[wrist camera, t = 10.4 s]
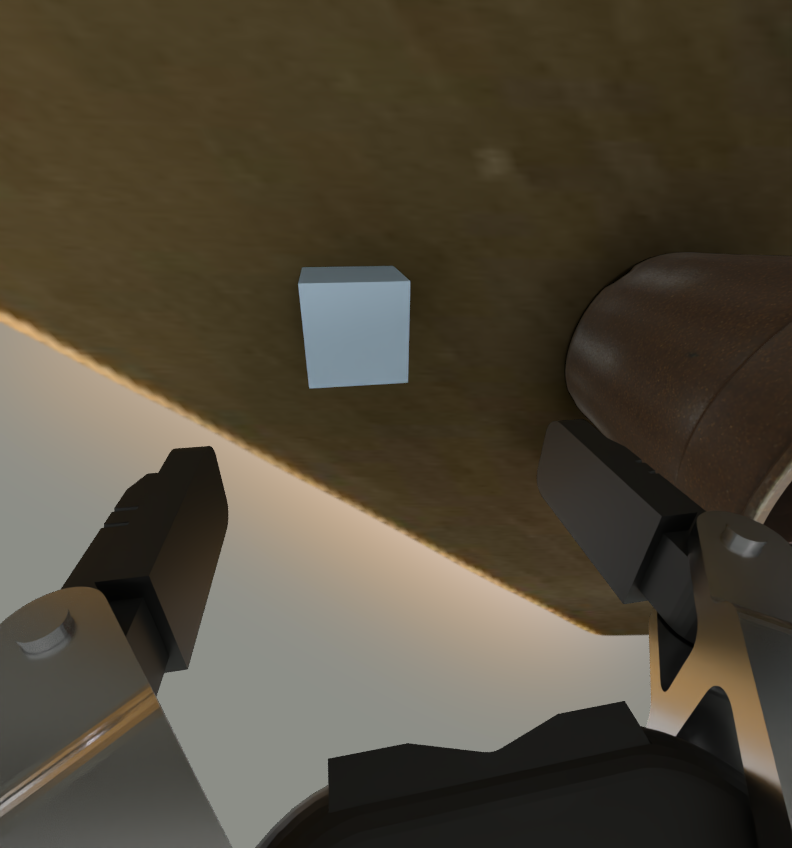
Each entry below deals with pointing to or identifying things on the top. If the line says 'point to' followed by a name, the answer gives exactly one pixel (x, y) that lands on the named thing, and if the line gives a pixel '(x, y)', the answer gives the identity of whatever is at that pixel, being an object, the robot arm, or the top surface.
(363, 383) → the blue block
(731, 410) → the plant pot
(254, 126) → the top surface
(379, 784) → the robot arm
